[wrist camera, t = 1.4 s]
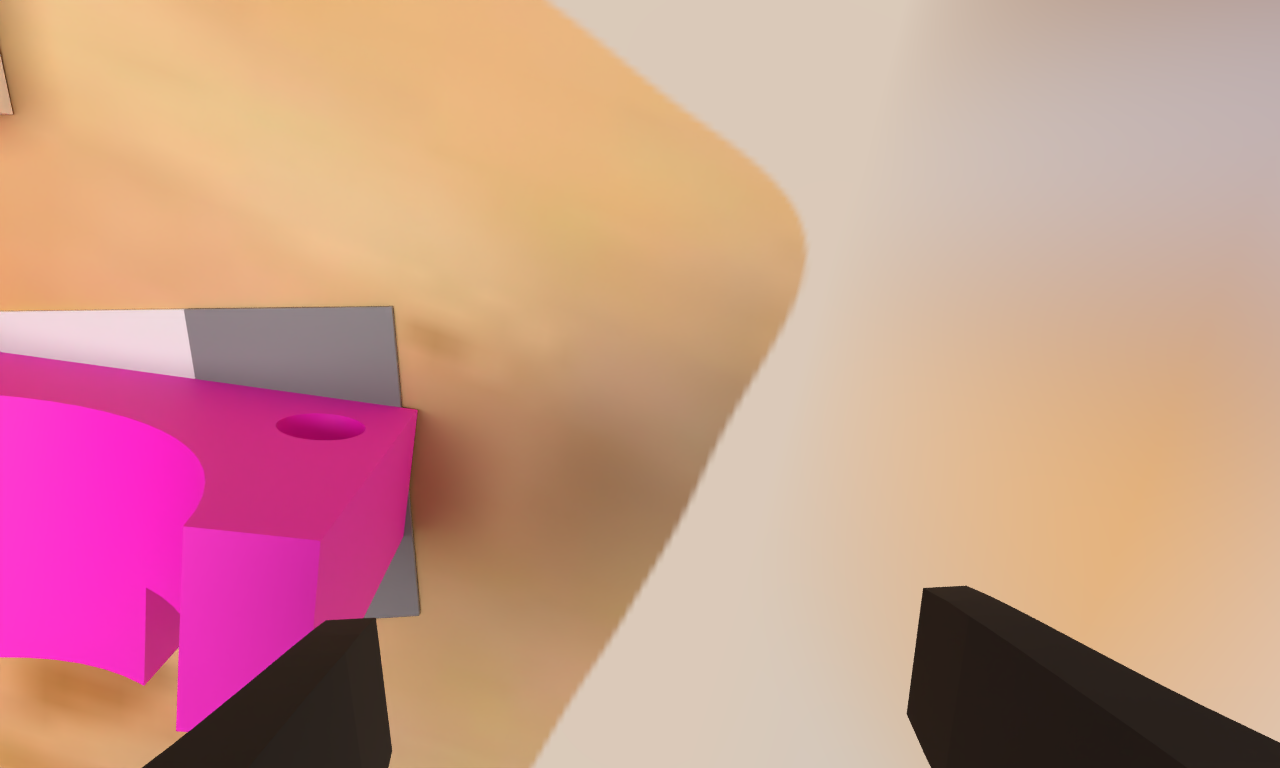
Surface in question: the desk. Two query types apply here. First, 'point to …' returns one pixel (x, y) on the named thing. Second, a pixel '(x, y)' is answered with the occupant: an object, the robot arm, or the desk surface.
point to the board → (243, 368)
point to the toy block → (188, 520)
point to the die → (4, 93)
